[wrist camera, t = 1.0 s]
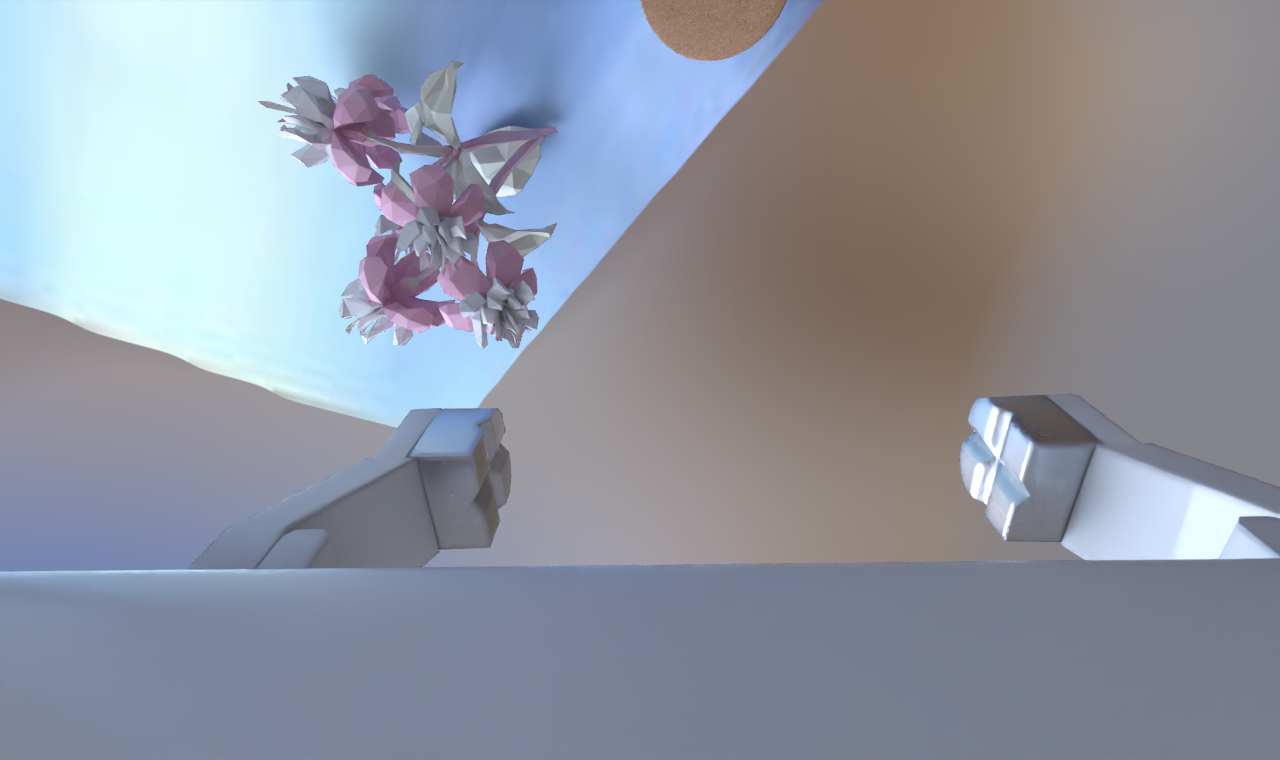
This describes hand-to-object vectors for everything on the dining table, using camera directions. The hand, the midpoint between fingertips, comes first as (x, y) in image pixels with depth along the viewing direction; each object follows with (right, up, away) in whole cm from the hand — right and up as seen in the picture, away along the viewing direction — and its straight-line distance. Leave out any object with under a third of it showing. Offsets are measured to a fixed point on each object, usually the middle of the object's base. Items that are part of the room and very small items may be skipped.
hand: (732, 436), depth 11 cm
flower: (-21, +24, +46) cm, 56 cm away
